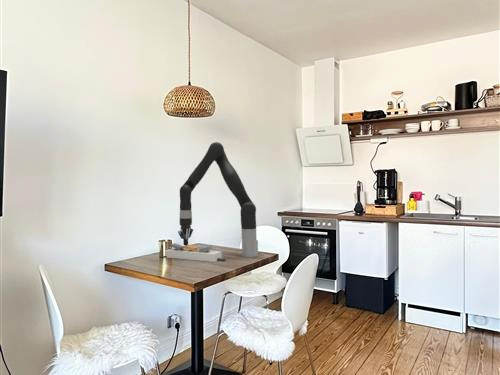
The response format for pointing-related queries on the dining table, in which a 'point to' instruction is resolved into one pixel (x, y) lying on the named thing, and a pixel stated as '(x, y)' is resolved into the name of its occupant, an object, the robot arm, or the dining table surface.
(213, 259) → the power strip
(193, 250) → the rocker middle
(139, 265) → the dining table surface
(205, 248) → the rocker near
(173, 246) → the rocker far
